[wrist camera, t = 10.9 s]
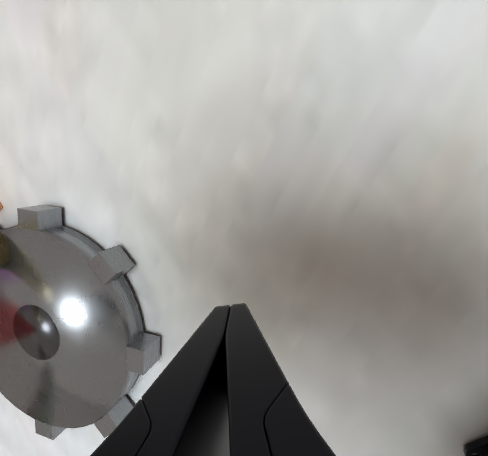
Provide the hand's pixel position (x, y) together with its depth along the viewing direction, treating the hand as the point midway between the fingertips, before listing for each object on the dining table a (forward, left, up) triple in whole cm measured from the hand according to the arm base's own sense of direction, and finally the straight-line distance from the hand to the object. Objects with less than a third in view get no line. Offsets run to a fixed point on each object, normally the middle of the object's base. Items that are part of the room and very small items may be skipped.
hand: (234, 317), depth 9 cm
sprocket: (+6, +20, -11) cm, 24 cm away
